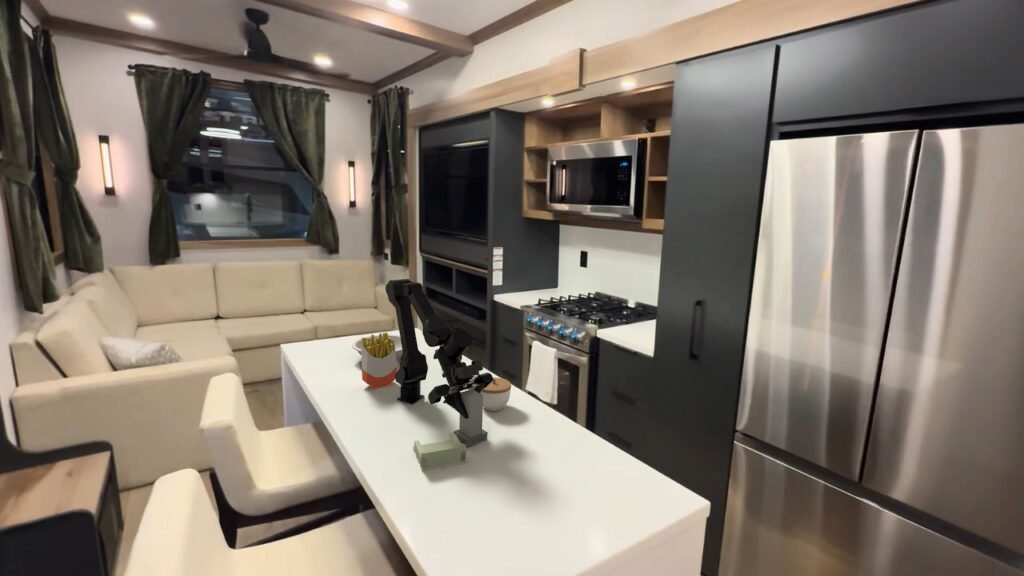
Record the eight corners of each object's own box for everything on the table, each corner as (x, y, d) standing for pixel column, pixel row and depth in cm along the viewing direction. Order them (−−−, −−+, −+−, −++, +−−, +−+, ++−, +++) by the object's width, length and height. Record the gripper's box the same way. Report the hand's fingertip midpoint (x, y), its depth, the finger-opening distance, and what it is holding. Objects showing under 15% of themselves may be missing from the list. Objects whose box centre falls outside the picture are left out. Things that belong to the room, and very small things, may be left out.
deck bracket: (412, 447, 123) (412, 432, 122) (453, 440, 127) (453, 425, 126) (422, 470, 113) (422, 453, 112) (465, 462, 117) (465, 445, 116)
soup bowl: (406, 370, 177) (406, 353, 176) (342, 367, 177) (342, 351, 176) (419, 350, 201) (419, 335, 200) (363, 348, 201) (363, 333, 200)
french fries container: (397, 383, 164) (397, 334, 161) (367, 391, 157) (366, 339, 154) (391, 379, 168) (391, 331, 164) (362, 386, 161) (360, 335, 158)
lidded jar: (494, 396, 156) (495, 370, 155) (517, 407, 149) (518, 379, 147) (469, 405, 149) (470, 377, 147) (492, 417, 141) (493, 388, 140)
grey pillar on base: (453, 438, 128) (454, 393, 126) (474, 430, 133) (475, 387, 130) (466, 447, 124) (467, 401, 121) (487, 439, 128) (488, 394, 126)
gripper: (433, 357, 121) (457, 413, 115) (490, 345, 133) (515, 394, 127) (418, 377, 128) (439, 430, 122) (473, 363, 140) (495, 411, 134)
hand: (474, 416), depth 126 cm, fingers closed on grey pillar on base, 4 cm apart
